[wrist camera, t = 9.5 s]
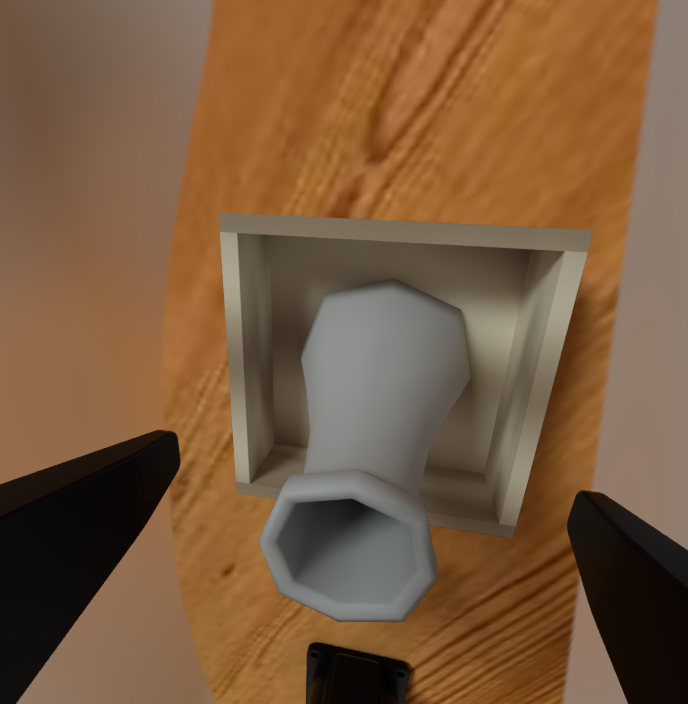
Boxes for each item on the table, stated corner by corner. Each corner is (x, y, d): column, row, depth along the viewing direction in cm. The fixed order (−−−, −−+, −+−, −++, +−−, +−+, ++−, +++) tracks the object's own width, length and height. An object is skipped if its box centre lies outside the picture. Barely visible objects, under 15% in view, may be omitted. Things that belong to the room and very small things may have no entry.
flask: (489, 287, 14) (646, 410, 5) (453, 447, 16) (511, 737, 7) (306, 267, 15) (133, 336, 6) (298, 421, 17) (170, 647, 8)
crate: (490, 472, 18) (512, 538, 14) (270, 441, 19) (236, 493, 16) (544, 229, 14) (593, 230, 10) (264, 215, 15) (218, 212, 12)
